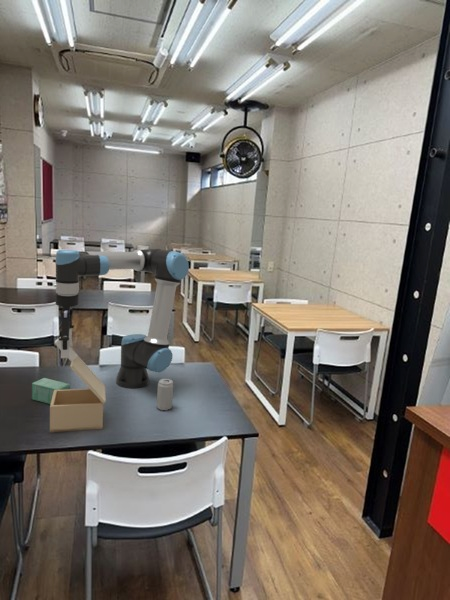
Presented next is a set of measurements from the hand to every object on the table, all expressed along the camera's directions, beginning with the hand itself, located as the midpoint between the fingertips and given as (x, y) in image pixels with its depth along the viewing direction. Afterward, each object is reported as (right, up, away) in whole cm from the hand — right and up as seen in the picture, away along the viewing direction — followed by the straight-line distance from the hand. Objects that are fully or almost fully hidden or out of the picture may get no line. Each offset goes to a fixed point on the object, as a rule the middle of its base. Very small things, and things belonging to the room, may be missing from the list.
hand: (66, 351), depth 145 cm
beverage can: (+32, -27, +24) cm, 48 cm away
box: (-15, -23, +22) cm, 35 cm away
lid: (+4, -7, +3) cm, 8 cm away
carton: (+2, -27, +7) cm, 28 cm away
